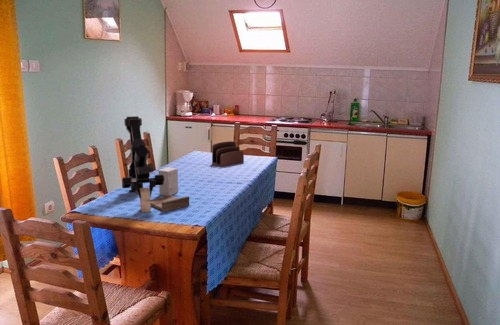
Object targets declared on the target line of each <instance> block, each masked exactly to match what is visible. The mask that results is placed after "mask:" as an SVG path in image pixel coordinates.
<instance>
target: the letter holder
mask: <svg viewBox="0 0 500 325" xmlns="http://www.w3.org/2000/svg"><path fill="white" fill-rule="evenodd" d="M211 146H212V147H211V148H212V149H211V158H212V159H211V160H212V161H211V163H212V165H216V166H219V167H224V166H230V165H237V164H240V163H244V162H245V159H244V158H245V155H244V154H245V153H244V151H243V150H240V147H239V146H237V144H236V141H221V142H217V143H214V144H212V145H211Z"/></svg>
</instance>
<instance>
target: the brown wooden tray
mask: <svg viewBox="0 0 500 325" xmlns="http://www.w3.org/2000/svg"><path fill="white" fill-rule="evenodd" d="M150 202H151V207H153V208H155V209H157V210H160V211H161V212H164V213H165V212H168V211H172V210H176V209H181V208H183V207H184V208H185V207H188V206H190V196H188V195H187V196H186V195H185V196H181V197H176V196H174V195H169V196H166V195H164V196H162V197H161V196H160V197H157V198H152V199H150Z"/></svg>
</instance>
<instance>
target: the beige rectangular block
mask: <svg viewBox="0 0 500 325" xmlns="http://www.w3.org/2000/svg"><path fill="white" fill-rule="evenodd" d="M140 194H141V198H139V202H140V203H139V204H140V212H141V213H149V212H152V209H151V208H152V206H151V202H150V200H151V197H150V190H149V187H143V188H140Z"/></svg>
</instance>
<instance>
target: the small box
mask: <svg viewBox="0 0 500 325" xmlns="http://www.w3.org/2000/svg"><path fill="white" fill-rule="evenodd" d="M161 174H162V175H163V176H164V183H163V185H158V186H159V188H158V189H159V195H161V196H169V195H172V196H174V195H175V194H177V193H179V177H178V176H179V173H178V168H176V167H172V166H171V167H169V166H167V167H164V168H162V169H159V170H158V175H161Z"/></svg>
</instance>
